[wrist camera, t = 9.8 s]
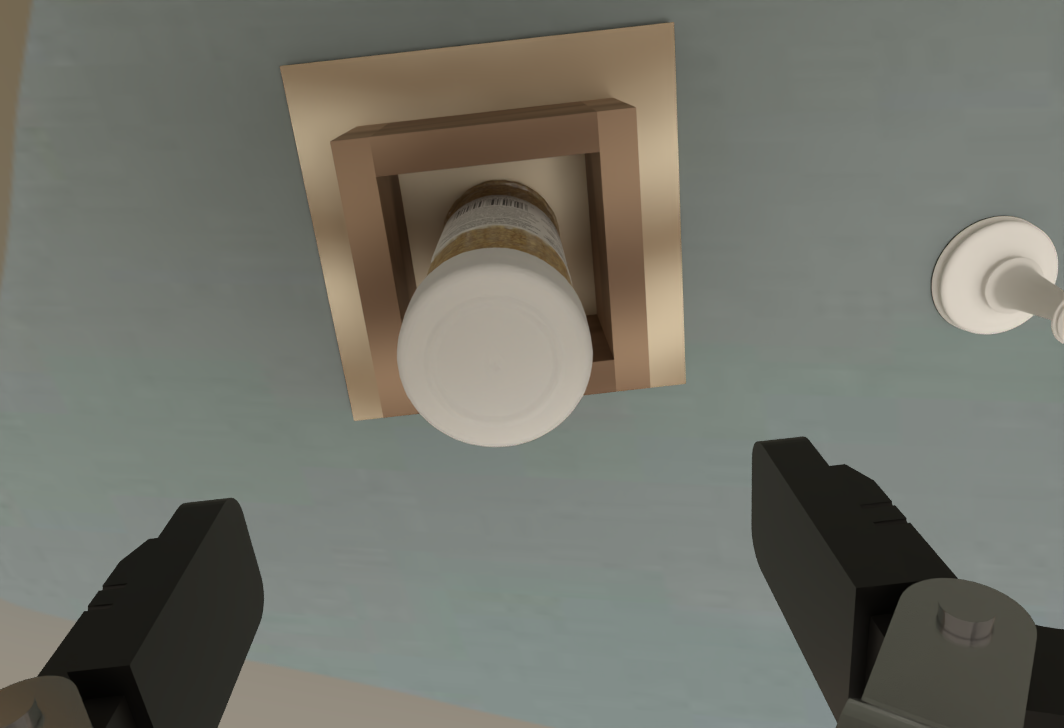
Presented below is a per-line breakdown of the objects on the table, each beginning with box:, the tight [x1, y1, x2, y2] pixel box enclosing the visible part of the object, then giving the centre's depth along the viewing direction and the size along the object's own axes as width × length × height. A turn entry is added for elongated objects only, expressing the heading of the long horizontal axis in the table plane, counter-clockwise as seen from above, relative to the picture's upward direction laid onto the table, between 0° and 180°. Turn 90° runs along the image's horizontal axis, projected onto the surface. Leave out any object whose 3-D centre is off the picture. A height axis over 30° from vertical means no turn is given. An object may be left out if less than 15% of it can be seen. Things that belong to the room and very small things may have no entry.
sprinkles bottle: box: [397, 180, 593, 447], centre depth 24 cm, size 5×5×14 cm
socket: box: [280, 22, 686, 421], centre depth 28 cm, size 14×14×6 cm
